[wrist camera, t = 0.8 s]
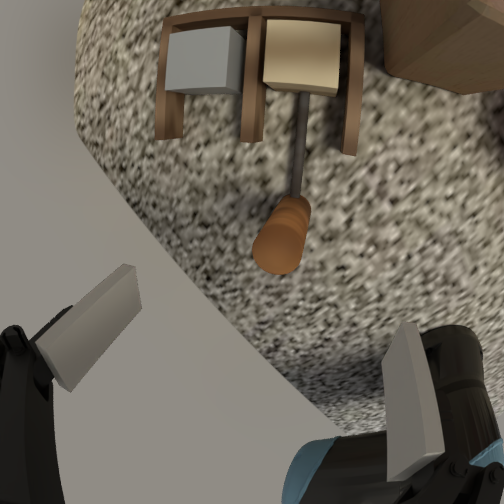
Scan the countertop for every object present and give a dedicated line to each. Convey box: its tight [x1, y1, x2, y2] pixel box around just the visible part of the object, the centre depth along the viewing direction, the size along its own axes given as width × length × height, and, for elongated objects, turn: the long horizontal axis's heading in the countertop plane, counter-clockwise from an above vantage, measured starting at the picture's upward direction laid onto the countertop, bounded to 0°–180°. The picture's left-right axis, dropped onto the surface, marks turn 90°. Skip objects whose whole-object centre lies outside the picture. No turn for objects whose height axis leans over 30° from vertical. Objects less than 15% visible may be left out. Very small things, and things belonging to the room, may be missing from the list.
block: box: [165, 26, 247, 95], centre depth 23 cm, size 6×6×6 cm
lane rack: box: [155, 6, 365, 156], centre depth 23 cm, size 14×20×4 cm
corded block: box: [252, 20, 341, 275], centre depth 21 cm, size 20×6×11 cm, turn 176°
